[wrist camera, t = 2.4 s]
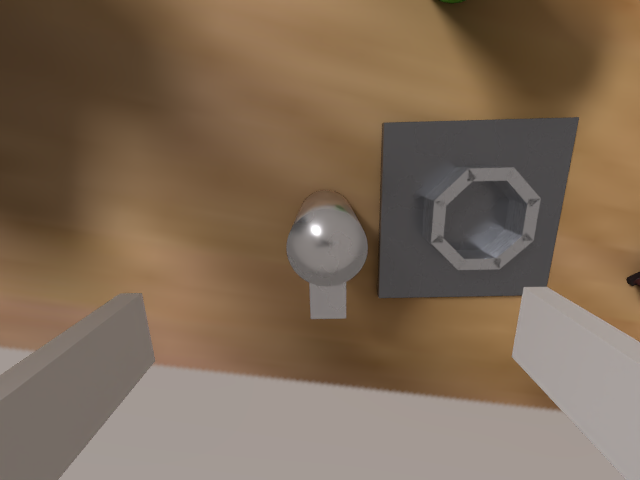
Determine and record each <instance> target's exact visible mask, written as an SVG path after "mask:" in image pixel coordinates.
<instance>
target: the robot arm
mask: <svg viewBox="0 0 640 480" xmlns="http://www.w3.org/2000/svg"><path fill="white" fill-rule="evenodd" d="M512 358H513V359H514V360H515V361H516V362H517V363H518V364H519V365H520V366H521V367H522V368H523V369H524V371H525V372H526V373H527V374H528V375H529V376H530V377H531V378H532V379H533V380H534V381H535V382H536V383H537V385H538V386H539V387H540V388H541V389H542V390H543V391H544V392H545V393H546V394H547V395H548V396H549V397H550V399H551V400H552V401H553V402H554V403H555V404H556V405H557V406H558V407H559V408H560V409H561V410H562V411H563V413H564V414H565V415H566V416H567V417H568V418H569V419H570V420H571V421H572V422H573V423H574V424H575V425H576V427H578V429H579V430H580V431H581V432H582V433H583V434H584V435H585V436H586V437H587V438H588V439H589V441H590V442H592V444H593V445H594V446H595V447H596V448H597V449H598V450H599V451H600V452H601V453H602V455H603V456H604V457H606V459H607V460H608V461H609V462H610V463H611V464H612V465H613V466H614V467H615V469H617V471H618V472H619V473H620V474H621V475H622V476H623V477H624V478H625V479H626V480H640V342H639V341H637V340H635V339H634V338H632V337H630V336H629V335H627V334H625V333H624V332H622V331H620V330H618V329H617V328H615V327H613V326H612V325H610V324H608V323H607V322H605V321H603V320H602V319H600V318H598V317H597V316H595V315H593V314H592V313H590V312H588V311H586V310H585V309H583V308H581V307H580V306H578V305H576V304H575V303H573V302H571V301H570V300H568V299H566V298H565V297H563V296H561V295H560V294H558V293H556V292H554V291H553V290H551V289H549V288H548V287H524V288H523V294H522V300H521V306H520V312H519V318H518V324H517V329H516V335H515V341H514V347H513V353H512ZM154 362H155V357H154V352H153V347H152V342H151V337H150V332H149V327H148V322H147V317H146V312H145V307H144V302H143V296H142V293H124V294H119V295H117V296H116V297H114V298H113V299H111V300H110V301H108V302H107V303H106V304H104V305H103V306H101V307H100V308H98V309H97V310H95V311H94V312H92V313H91V314H89V315H88V316H86V317H85V318H83V319H82V320H81V321H79V322H78V323H76V324H75V325H73V326H72V327H70V328H69V329H67V330H66V331H64V332H63V333H61V334H60V335H59V336H57V337H56V338H54V339H53V340H51V341H50V342H48V343H47V344H45V345H44V346H42V347H41V348H39V349H38V350H36V351H35V352H34V353H32V354H31V355H29V356H28V357H26V358H25V359H23V360H22V361H20V362H19V363H17V364H16V365H14V366H13V367H12V368H10V369H9V370H7V371H6V372H4V373H3V374H1V375H0V480H58V479H59V478H60V477H61V476H62V474H63V473H64V472H65V471H66V469H67V468H68V467H69V466H70V464H71V463H72V462H73V461H74V460H75V458H76V457H77V456H78V455H79V454H80V452H81V451H82V450H83V449H84V447H85V446H86V445H87V444H88V442H89V441H90V440H91V439H92V438H93V436H94V435H95V434H96V433H97V432H98V430H99V429H100V428H101V427H102V425H103V424H104V423H105V422H106V421H107V419H108V418H109V417H110V415H111V414H112V413H113V412H114V411H115V410H116V408H117V407H118V406H119V405H120V403H121V402H122V401H123V400H124V399H125V397H126V396H127V395H128V394H129V392H130V391H131V390H132V389H133V388H134V386H135V385H136V384H137V382H138V381H139V380H140V379H141V378H142V377H143V375H144V374H145V373H146V371H147V370H148V369H149V368H150V367H151V366H152V364H153V363H154Z"/></svg>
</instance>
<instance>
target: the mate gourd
mask: <svg viewBox="0 0 640 480" xmlns="http://www.w3.org/2000/svg"><path fill="white" fill-rule="evenodd" d="M627 283H628V284H630V285H632V286H634V285H639V286H640V272H638V273H636V274H634V275H631V276H629V277H627Z"/></svg>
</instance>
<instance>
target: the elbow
mask: <svg viewBox="0 0 640 480" xmlns="http://www.w3.org/2000/svg"><path fill="white" fill-rule="evenodd" d="M367 252H368V243H367V238H366V235H365V232H364V230H363V228H362V226H361V225H360V223H359V221H358V219H357V217H356V215H355V213H354V211H353V209H352V208H351V206H350V204H349V202H348V201H347V199H346V198H345V197H344V196H342V195H341V194H340V193H338V192H335V191H332V190H320V191H316V192H314V193H312V194H311V195H309V196H308V197H307V198H306V199H305V200H304V201H303V203H302V205H301V207H300V210H299V212H298V214H297V217H296V219H295V221H294V224H293V226H292V229H291V231H290V233H289V236H288V240H287V256H288V260H289V262H290V264H291V266H292V268H293V269H294V271H295V272H296V273H297V274H298V275H299V276H300V277H301V278H303V279H304V280H306V281H307V282H309V286H310V312H311V319H341V318H346V282H347V281H349V280H350V279H352V278H353V277H354V276H355V275H356V274H357V273H358V272H359V271H360V270H361V268H362V267H363V265H364V263H365V260H366V257H367Z"/></svg>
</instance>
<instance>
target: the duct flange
mask: <svg viewBox="0 0 640 480" xmlns="http://www.w3.org/2000/svg"><path fill="white" fill-rule="evenodd" d="M578 120H579V117H574V118H539V119H503V120H467V121H431V122H395V123H383V124H382V148H381V184H380V219H379V254H378V290H377V295H378V297H379V298H408V297H462V296H515V295H522V294H523V288H524V287H547V282H548V277H549V271H550V266H551V261H552V256H553V251H554V245H555V240H556V235H557V230H558V225H559V219H560V214H561V209H562V204H563V198H564V193H565V188H566V183H567V178H568V172H569V167H570V162H571V157H572V151H573V146H574V141H575V136H576V131H577V125H578Z"/></svg>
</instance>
